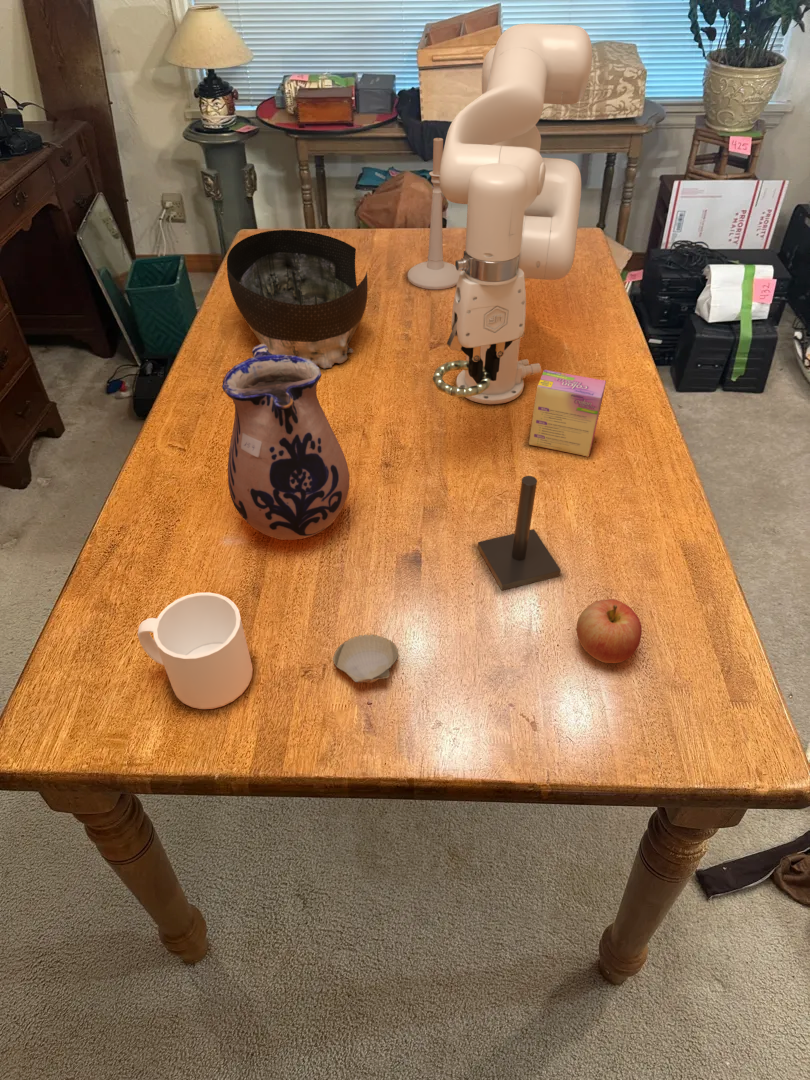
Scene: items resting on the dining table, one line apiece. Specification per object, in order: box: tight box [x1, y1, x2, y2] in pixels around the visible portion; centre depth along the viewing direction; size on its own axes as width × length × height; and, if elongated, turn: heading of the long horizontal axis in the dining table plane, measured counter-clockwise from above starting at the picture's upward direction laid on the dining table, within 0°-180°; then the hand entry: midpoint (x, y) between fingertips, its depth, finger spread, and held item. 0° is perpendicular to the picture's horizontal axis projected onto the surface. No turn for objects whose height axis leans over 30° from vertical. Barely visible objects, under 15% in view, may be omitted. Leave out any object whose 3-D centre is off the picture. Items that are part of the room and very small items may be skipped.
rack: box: [477, 475, 562, 591], centre depth 105 cm, size 9×9×15 cm
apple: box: [576, 598, 642, 664], centre depth 96 cm, size 8×8×8 cm
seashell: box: [332, 634, 399, 684], centre depth 96 cm, size 8×3×8 cm
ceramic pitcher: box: [221, 343, 350, 541], centre depth 109 cm, size 18×21×25 cm
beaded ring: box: [432, 359, 491, 398], centre depth 117 cm, size 9×9×1 cm
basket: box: [226, 229, 369, 369], centre depth 152 cm, size 28×35×16 cm
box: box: [528, 369, 607, 458], centre depth 127 cm, size 10×6×12 cm, turn 71°
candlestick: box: [407, 137, 462, 290], centre depth 166 cm, size 13×13×30 cm
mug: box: [136, 591, 254, 710], centre depth 92 cm, size 13×10×10 cm
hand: (483, 377), depth 118 cm, fingers closed on beaded ring, 1 cm apart
